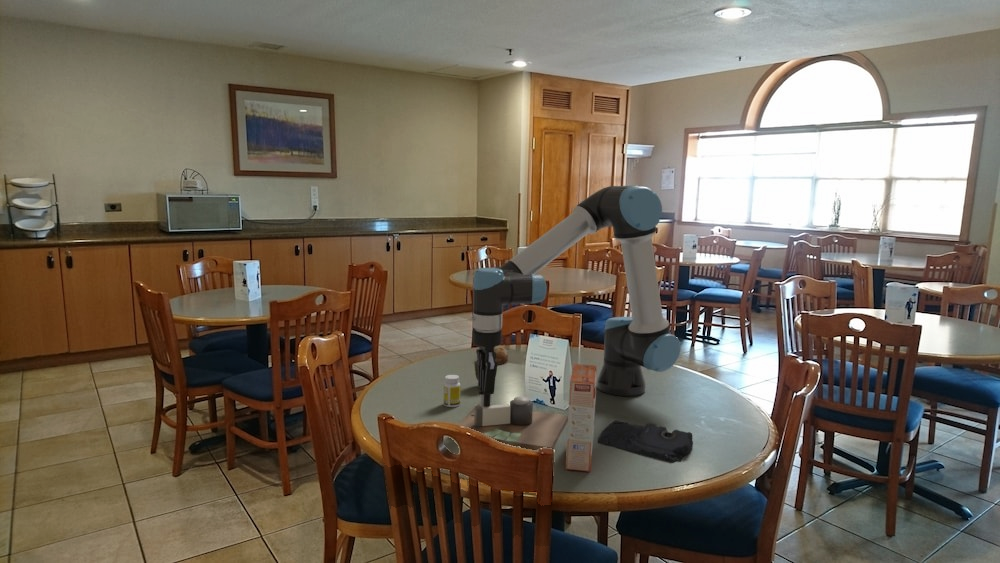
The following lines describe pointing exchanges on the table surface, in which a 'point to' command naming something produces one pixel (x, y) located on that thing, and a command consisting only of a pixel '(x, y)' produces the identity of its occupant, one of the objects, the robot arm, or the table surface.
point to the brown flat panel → (524, 430)
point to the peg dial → (505, 413)
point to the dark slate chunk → (648, 440)
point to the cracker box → (581, 417)
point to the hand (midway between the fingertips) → (485, 416)
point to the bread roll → (501, 355)
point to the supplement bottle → (451, 391)
